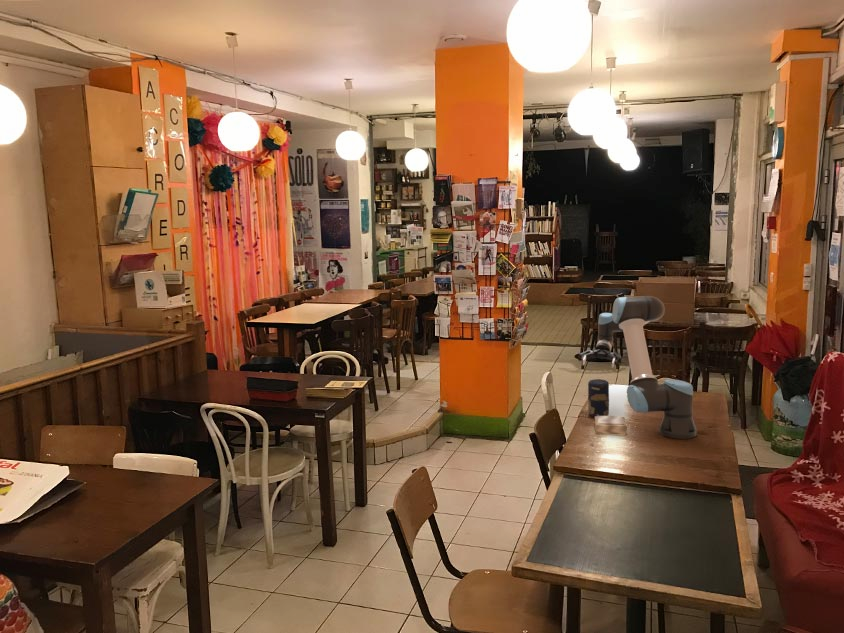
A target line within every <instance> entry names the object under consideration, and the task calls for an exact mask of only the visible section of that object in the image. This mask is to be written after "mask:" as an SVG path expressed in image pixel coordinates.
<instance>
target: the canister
mask: <svg viewBox="0 0 844 633" xmlns="http://www.w3.org/2000/svg"><path fill="white" fill-rule="evenodd" d="M587 385H588V386H587V389H588V390H587V392H588V393H587V395H588V396H587V398H588V399H587V403H588V404H587V406H588V408H587V410H588V415H589V416H591V417H593V418H595V416H609V414H610V394H609V393H610V389H609V388H610V386H609V385H610V384H609V381H608V380H606V379H600V378H595V379H591V380H589V381H588V382H587Z"/></svg>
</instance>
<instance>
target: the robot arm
mask: <svg viewBox="0 0 844 633" xmlns="http://www.w3.org/2000/svg"><path fill="white" fill-rule="evenodd" d="M665 311H666V308H665V305H664V303H663V301H661V300H660V299H659V298H658V297H655V296H652V295H642V296H641V295H640V296H639V295H638V296H621V297H617V298H616V299H615V300H614V302H613V306H612V312H602V313H600V314H599V316H598V323H597V324H598V327H597V329H598V330H597V332H598V334H597V343H596V346H595V347H594V350H591V349H589V348H588V349H586V350H585V351H582V352H580V353H578V359H579V360H581V362H582V366H585V364H586V362H587V360H590V359H598V358H599V359H602V360H603V359H606V360H609V361H611V362H612V363H611V369H614V367H615V365H618V364H621V363H622V359H623V358H622V357H621V356H620V355H619V354H618V353H617V351H613V352H611V351H612V347H613V345H614V333H617V332H623V336H624V342H625V347H626V351H627V356H628V362H629V368H630V373H631V380H630V382H629V386H627V388H626V394H627V395H626V397H627V402H628V404H629V406H630V408H631V409H632V410H633V411H634V412H636V413H644V414H645V413H646V414H647V413H655V412H663V416H662V418H661V419H662V420H661V421H660V425H659V429H658V433H659V434H660V435H661V436H664V437H666V438H670V439H678V440H688V439H692V438H695V437H696V436H697V426H696V423H695V421H694V418H693V406H694V386H693V384H691V383H690V382H687V381H684V380H680V379H673V378H671V379H668V378H667V379H665V380H664V381H663V383H662V384H661V383H659V382H658V378H657V377H655V376H654V374H653V371H652V366H651V360H650V356H649V355H650V354H649V352H648V346H647V340H646V337H645V331H644V326H645V325H647V324H649V323H650V322H651V323H652V322H653V323H654V322H657V321H658V320H660V319H663V317H664V315H665Z"/></svg>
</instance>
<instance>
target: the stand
mask: <svg viewBox="0 0 844 633" xmlns="http://www.w3.org/2000/svg"><path fill="white" fill-rule="evenodd" d="M594 428H595V429H596V430H595V434H596V435H617V434H627V435H628V425H627V421H626V418H625V416H621V415H619V416H618V415H608V416H595V417H594Z"/></svg>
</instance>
